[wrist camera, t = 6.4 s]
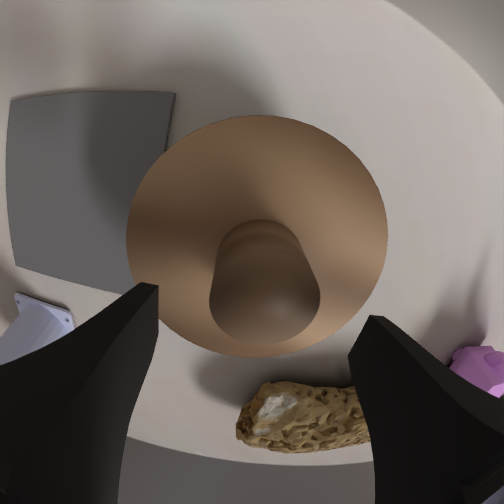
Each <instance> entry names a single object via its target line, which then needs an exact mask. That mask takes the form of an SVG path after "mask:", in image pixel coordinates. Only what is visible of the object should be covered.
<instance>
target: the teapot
mask: <svg viewBox="0 0 504 504" xmlns="http://www.w3.org/2000/svg"><path fill="white" fill-rule="evenodd" d="M452 359H453V361H454V362H453V363H452V365H451V366H450V367H449V369H451V370H452V371H453V372H455V373H456V374H458V375H459V376H461V377H462V378H464V379H465V380H467V381H468V382H470V383H472V384H473V385H475V386H477V387H478V388H480V389H482V390H484V391H486V392H488V393H490V394H492V395H494V396H496V397H498V398H499V397H500V396H501V395H502V394H503V393H504V353H503V352H500V351H495V350H494V349H493V347H492V346H465V347H464V349H463V348H459V349H457V350H456V351H455V352H454V353H453V355H452Z"/></svg>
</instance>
